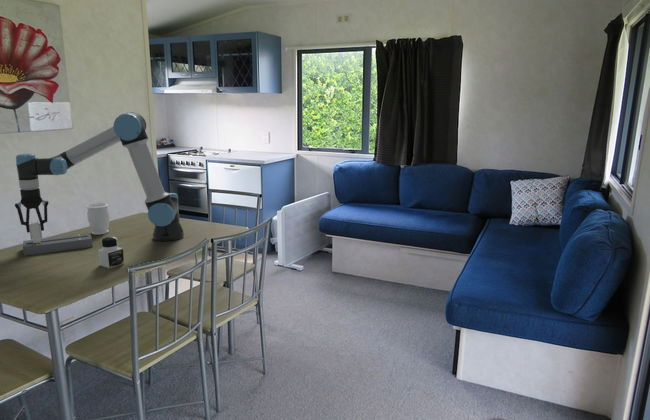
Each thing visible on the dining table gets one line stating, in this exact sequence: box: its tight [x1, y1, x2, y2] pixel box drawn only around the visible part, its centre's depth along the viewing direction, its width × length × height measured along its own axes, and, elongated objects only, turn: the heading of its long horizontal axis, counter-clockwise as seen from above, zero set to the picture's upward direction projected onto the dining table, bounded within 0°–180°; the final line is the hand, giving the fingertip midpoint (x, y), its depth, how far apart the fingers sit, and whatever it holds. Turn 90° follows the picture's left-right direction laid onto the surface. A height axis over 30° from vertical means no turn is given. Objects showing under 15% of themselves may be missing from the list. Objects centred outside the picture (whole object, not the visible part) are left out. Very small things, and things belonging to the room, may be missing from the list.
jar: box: [86, 202, 111, 236], centre depth 247 cm, size 11×10×15 cm
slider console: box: [22, 232, 94, 256], centre depth 223 cm, size 28×11×4 cm, turn 121°
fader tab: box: [30, 220, 42, 243], centre depth 217 cm, size 3×6×11 cm, turn 31°
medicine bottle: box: [97, 236, 125, 269], centre depth 200 cm, size 7×7×12 cm
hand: (36, 238), depth 217 cm, fingers closed on fader tab, 3 cm apart
